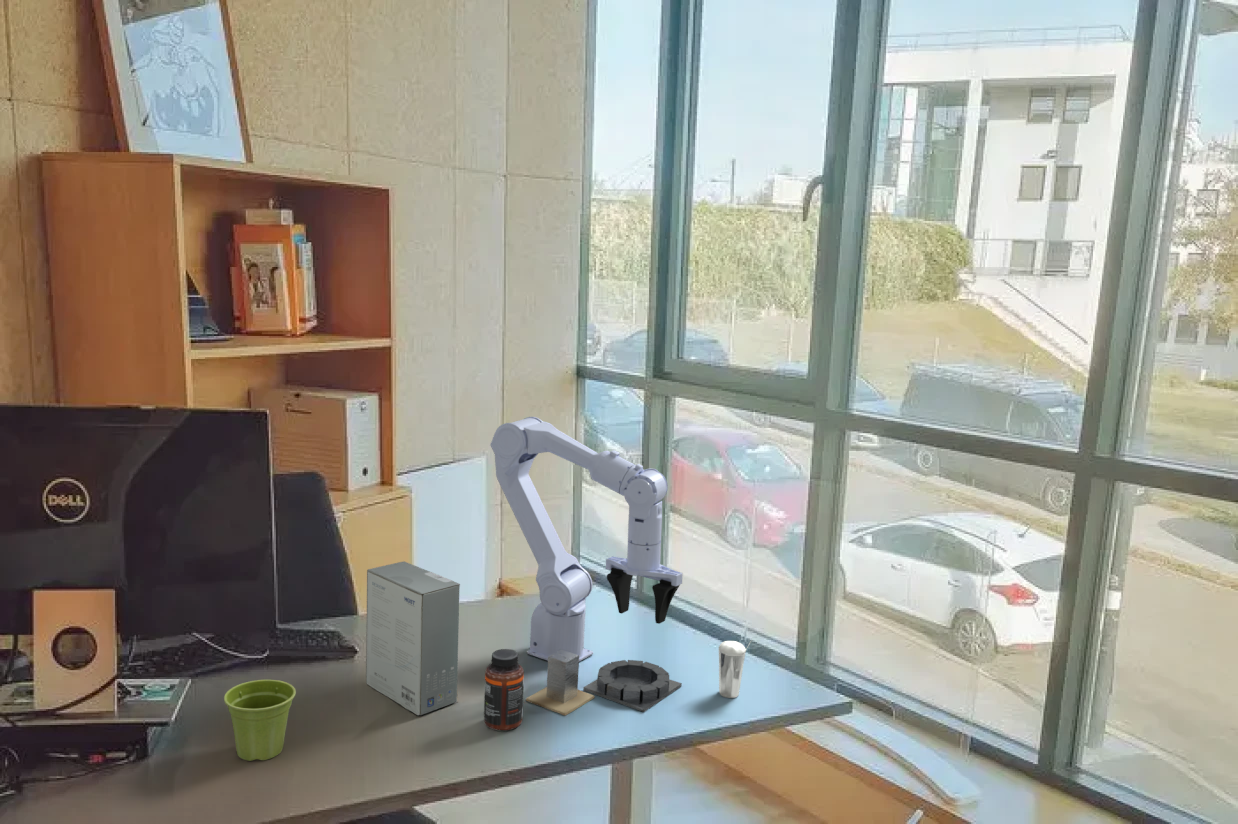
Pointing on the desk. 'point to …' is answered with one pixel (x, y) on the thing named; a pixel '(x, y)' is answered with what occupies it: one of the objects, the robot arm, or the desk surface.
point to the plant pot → (259, 717)
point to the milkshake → (730, 668)
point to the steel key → (562, 676)
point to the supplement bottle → (503, 691)
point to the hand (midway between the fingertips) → (641, 616)
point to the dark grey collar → (633, 684)
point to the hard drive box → (412, 636)
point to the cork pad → (557, 706)
